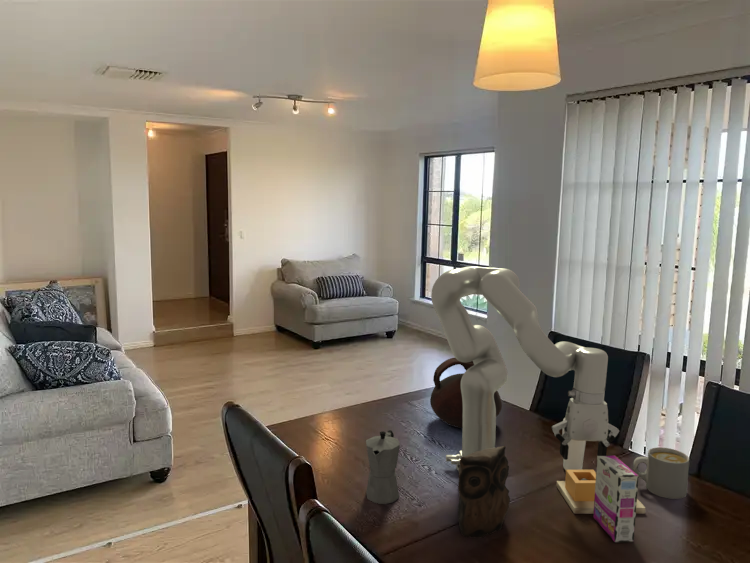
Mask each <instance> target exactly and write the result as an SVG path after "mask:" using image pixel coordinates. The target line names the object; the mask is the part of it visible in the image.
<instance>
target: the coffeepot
mask: <svg viewBox="0 0 750 563" xmlns="http://www.w3.org/2000/svg"><path fill="white" fill-rule="evenodd" d="M365 443H366V444H365V445H366V449H367V450H366V451H367V457H368V464H369V465H368V466H369V470H370V471H369V473H368V480H367V484H366V485H367V486H366V490H365V493H366V499H367V500H368V501H369V502H371V501H372V502H371V503H374V504H377V503H378V505H388V504H391V503H394V502H396V501H397V500H398V499H399V498H400V493H399V486H398V481H397V474H396V468H397V466H398V459H399V455H400V454H399V453H400V447H401V446H400V445H401V444H400V443H401V442H400V441H399V438H396V437H395V434H394V433H393V430H391V429H388V430H387V432H386V431H383V430H382V431H379V435H374V436H372V437H369V438H368V439H366V440H365Z"/></svg>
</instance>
